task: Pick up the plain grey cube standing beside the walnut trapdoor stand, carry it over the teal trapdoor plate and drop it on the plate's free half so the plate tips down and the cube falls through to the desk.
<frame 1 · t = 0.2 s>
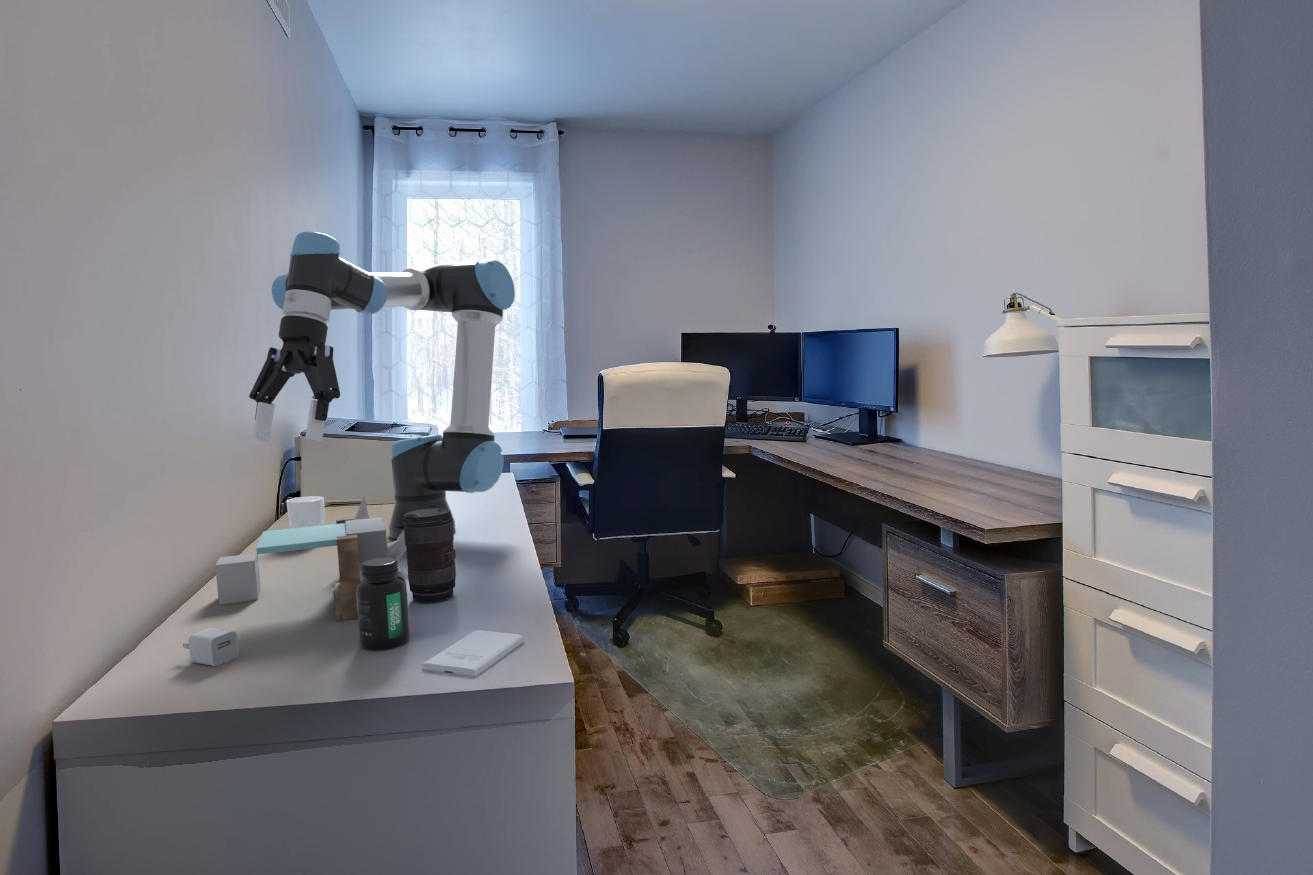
hand: (286, 440, 131), 28 cm above the table, tool tilted 15°, fingers open, 13 cm apart
stand: (351, 602, 131), on the table
supplement bottle: (385, 643, 111), on the table
usb wall charger: (208, 660, 107), on the table
crystal: (376, 572, 150), on the table
white cup: (308, 542, 178), on the table
camera lens: (433, 598, 132), on the table
trapdoor: (324, 544, 129), point 10 cm above the table, hinge at 0.0°
plain grey cube: (240, 597, 136), on the table
external hard drive: (475, 660, 106), on the table
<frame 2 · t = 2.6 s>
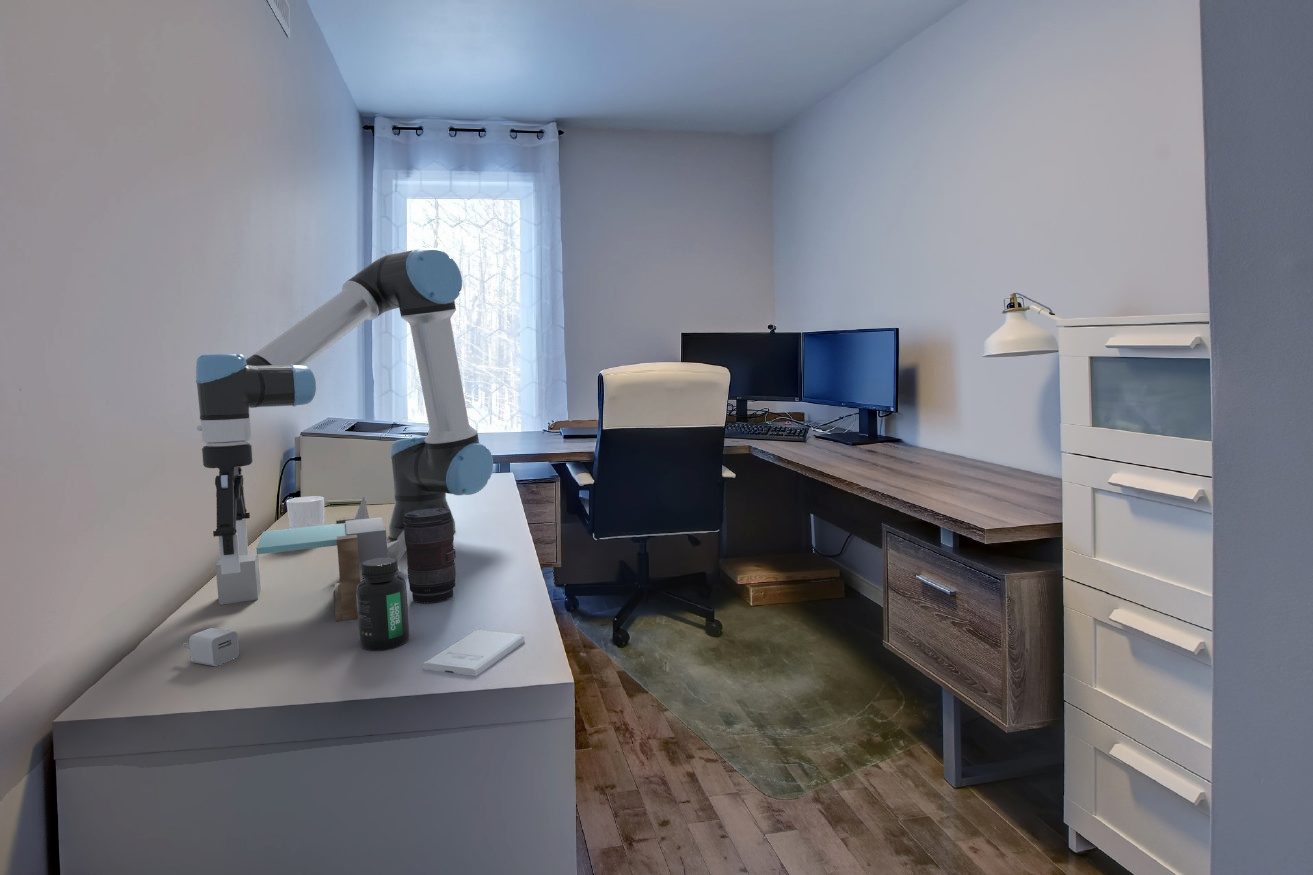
hand: (235, 563, 135), 6 cm above the table, tool pointing down, fingers open, 13 cm apart
nothing on the table moved.
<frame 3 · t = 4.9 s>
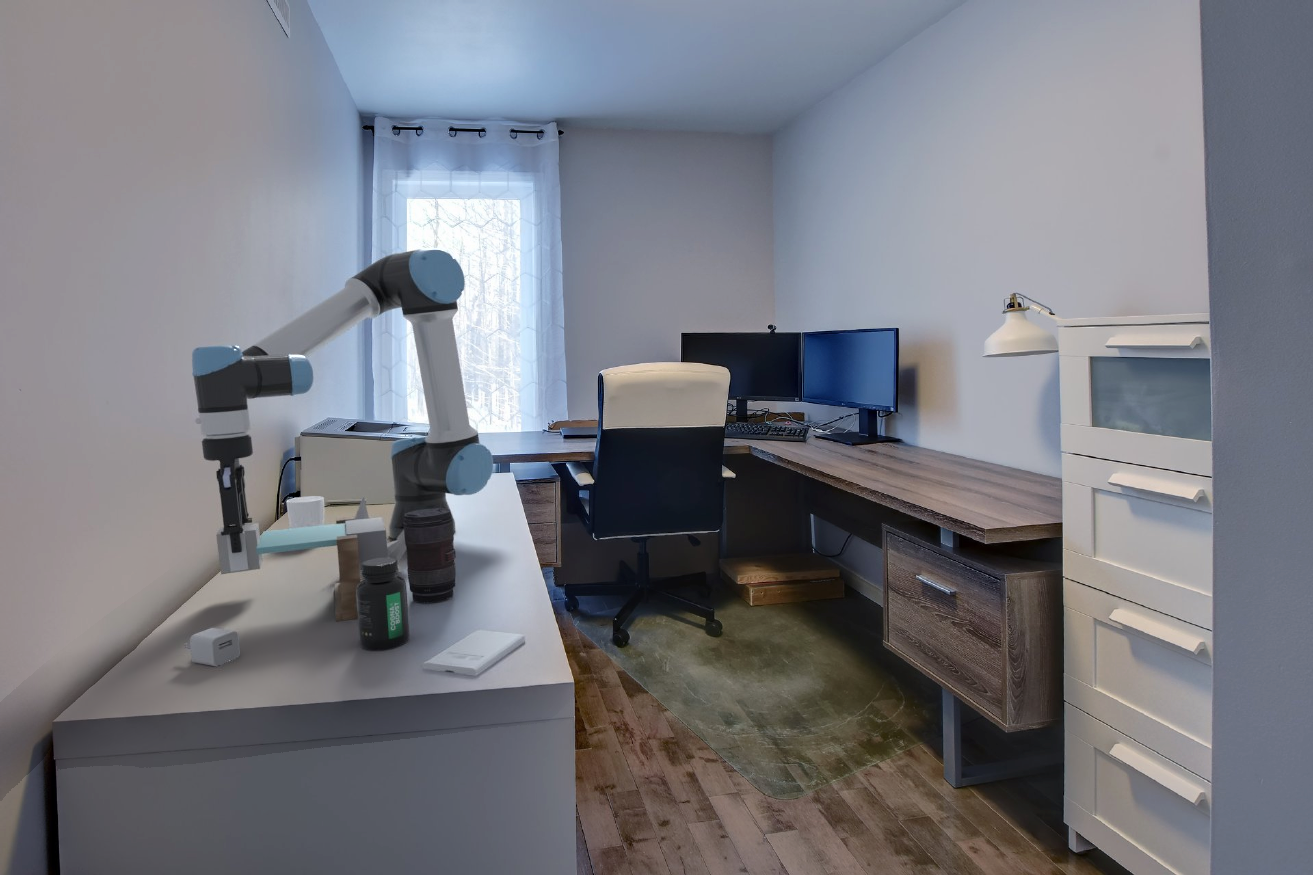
hand: (241, 564, 136), 6 cm above the table, tool pointing down, fingers closed on plain grey cube, 6 cm apart
plain grey cube: (242, 567, 136), point 5 cm above the table, touching gripper
everything else where it was.
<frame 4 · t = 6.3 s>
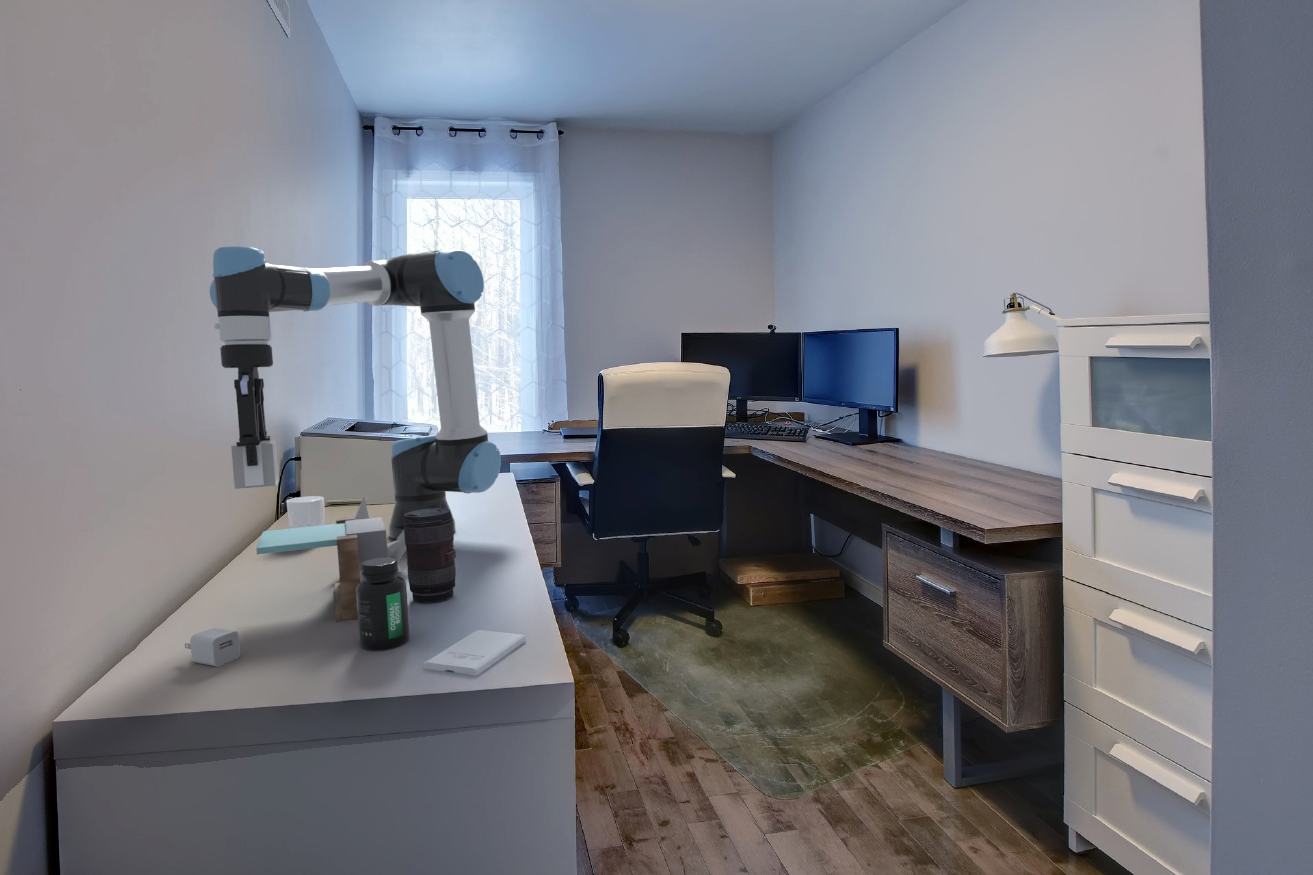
hand: (257, 482, 129), 21 cm above the table, tool pointing down, fingers closed on plain grey cube, 6 cm apart
plain grey cube: (257, 484, 129), point 21 cm above the table, touching gripper
everything else where it was.
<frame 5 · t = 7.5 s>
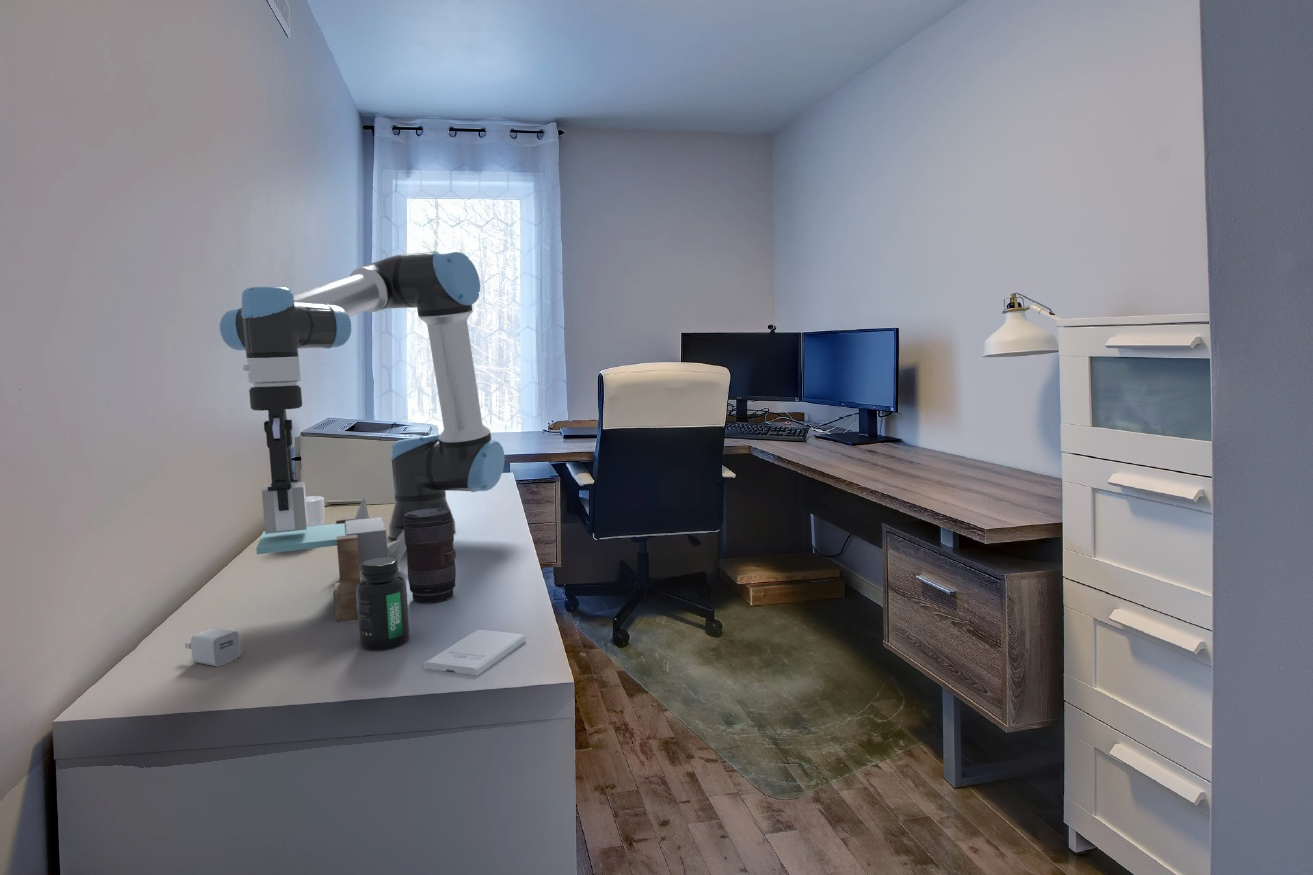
hand: (286, 525, 126), 14 cm above the table, tool pointing down, fingers closed on plain grey cube, 6 cm apart
plain grey cube: (287, 528, 126), point 14 cm above the table, touching gripper
everything else where it was.
when the fingers open (14 cm above the table, at t = 7.7 s): plain grey cube drops 7 cm and tips over, point 7 cm above the table.
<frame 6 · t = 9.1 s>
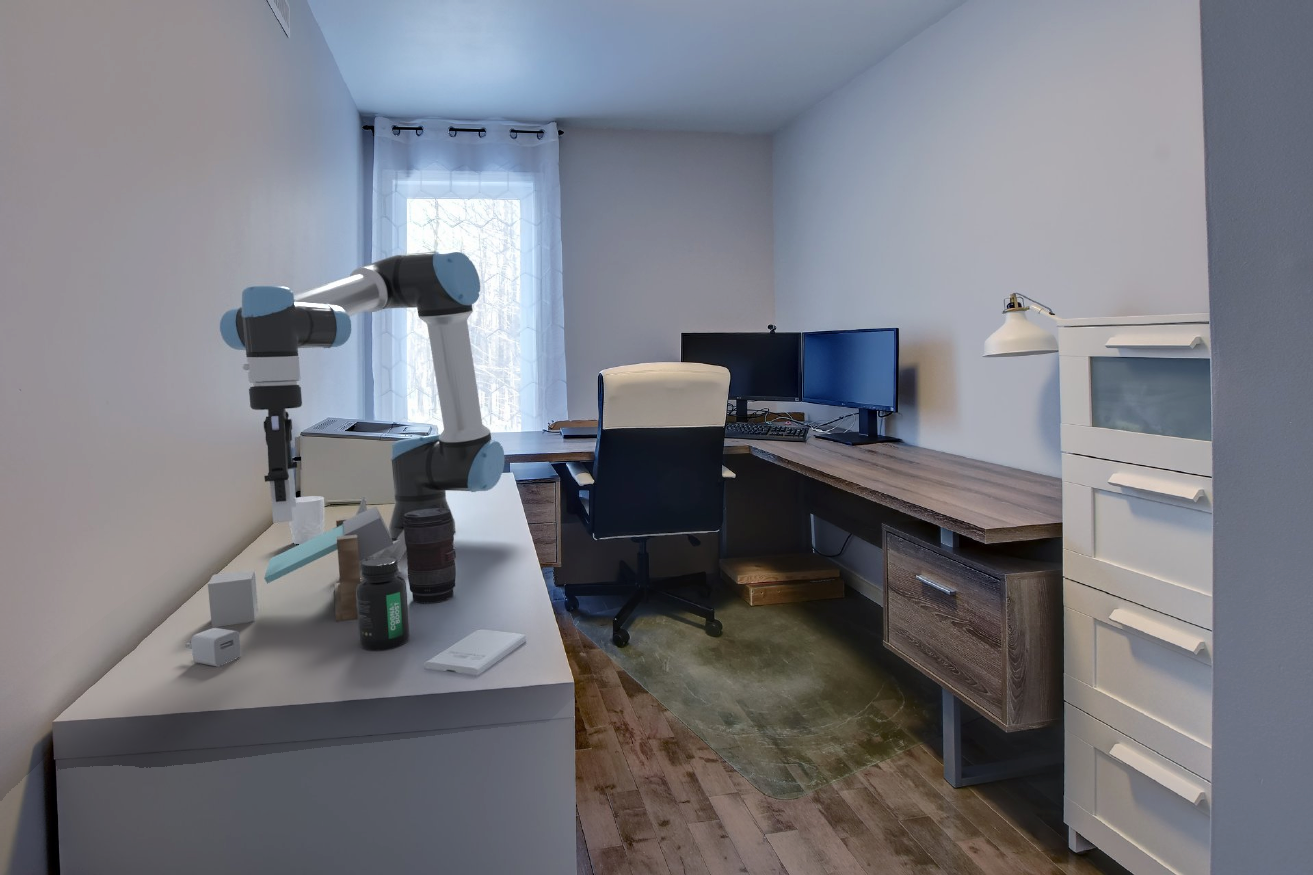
hand: (285, 514, 126), 16 cm above the table, tool pointing down, fingers open, 13 cm apart
trapdoor: (330, 550, 129), point 9 cm above the table, hinge at -21.5°
plain grey cube: (231, 576, 124), point 7 cm above the table, tilted 180°
everything else where it was.
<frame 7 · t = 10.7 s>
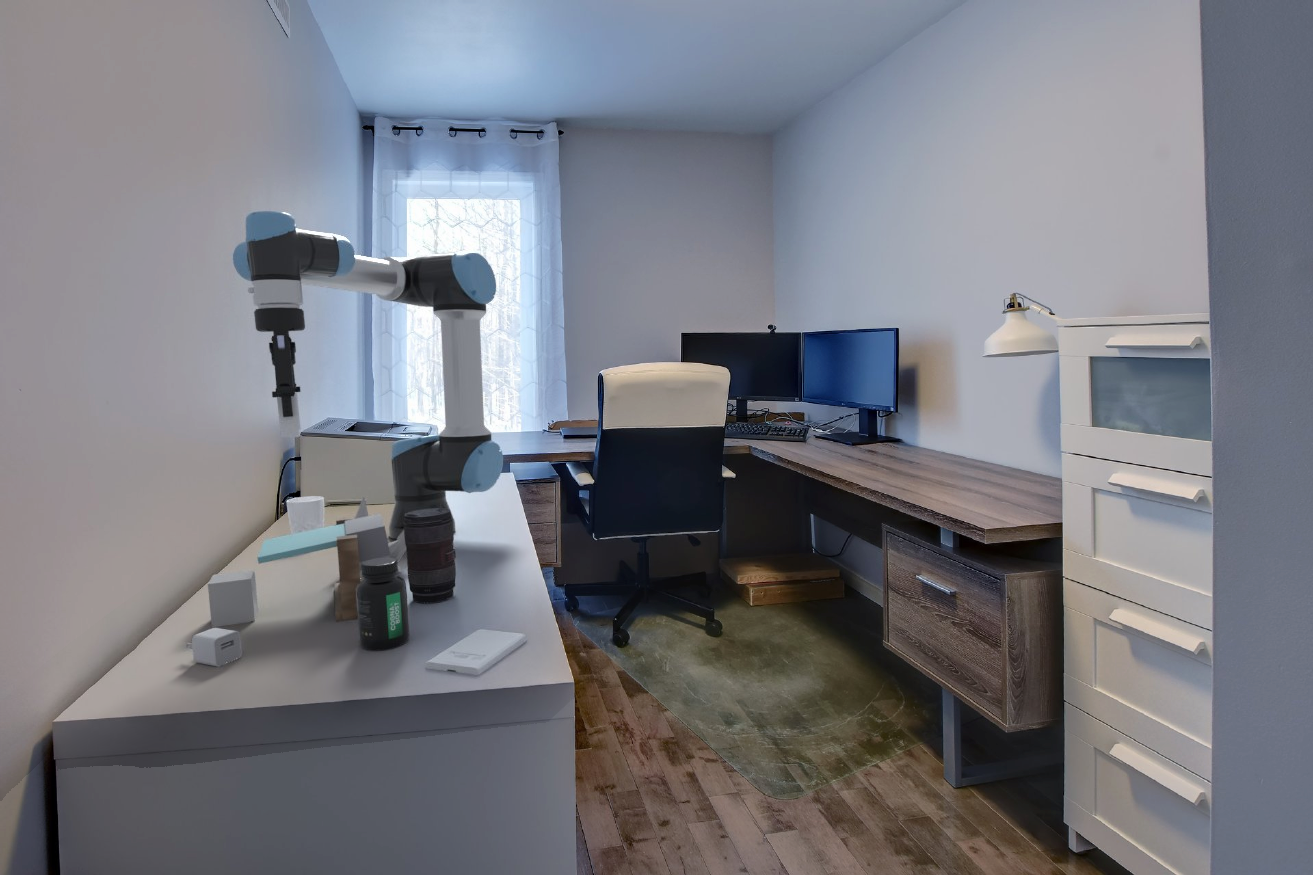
hand: (291, 433, 132), 29 cm above the table, tool pointing down, fingers open, 13 cm apart
trapdoor: (326, 546, 129), point 10 cm above the table, hinge at -6.6°
everything else where it was.
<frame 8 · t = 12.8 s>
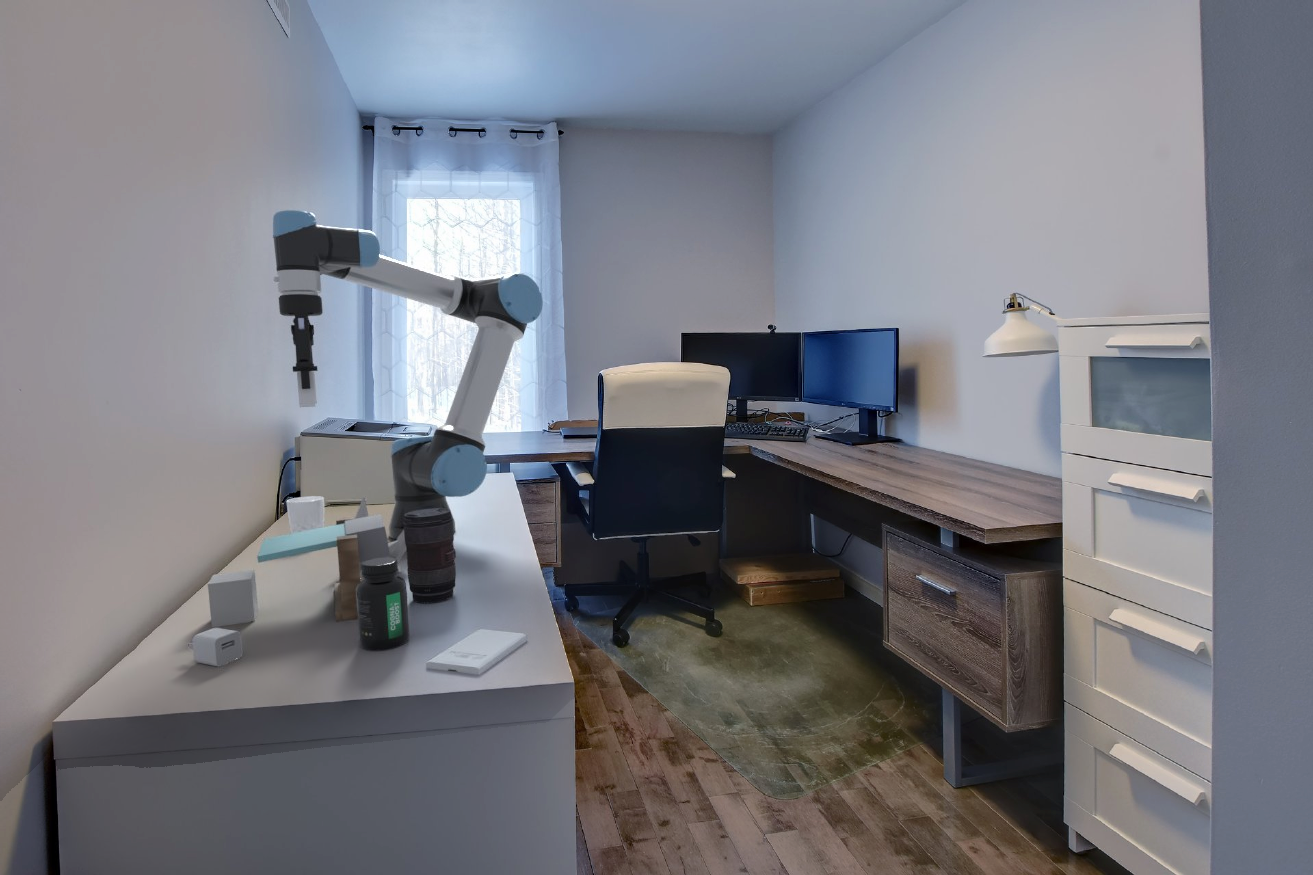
hand: (308, 405, 150), 33 cm above the table, tool pointing down, fingers open, 13 cm apart
trapdoor: (325, 546, 129), point 10 cm above the table, hinge at -5.7°
everything else where it was.
at the end: plain grey cube point 6.9 cm above the table; plain grey cube inside the target area (3.1 cm from its centre), point 6.9 cm above the table; the gripper is holding nothing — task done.
